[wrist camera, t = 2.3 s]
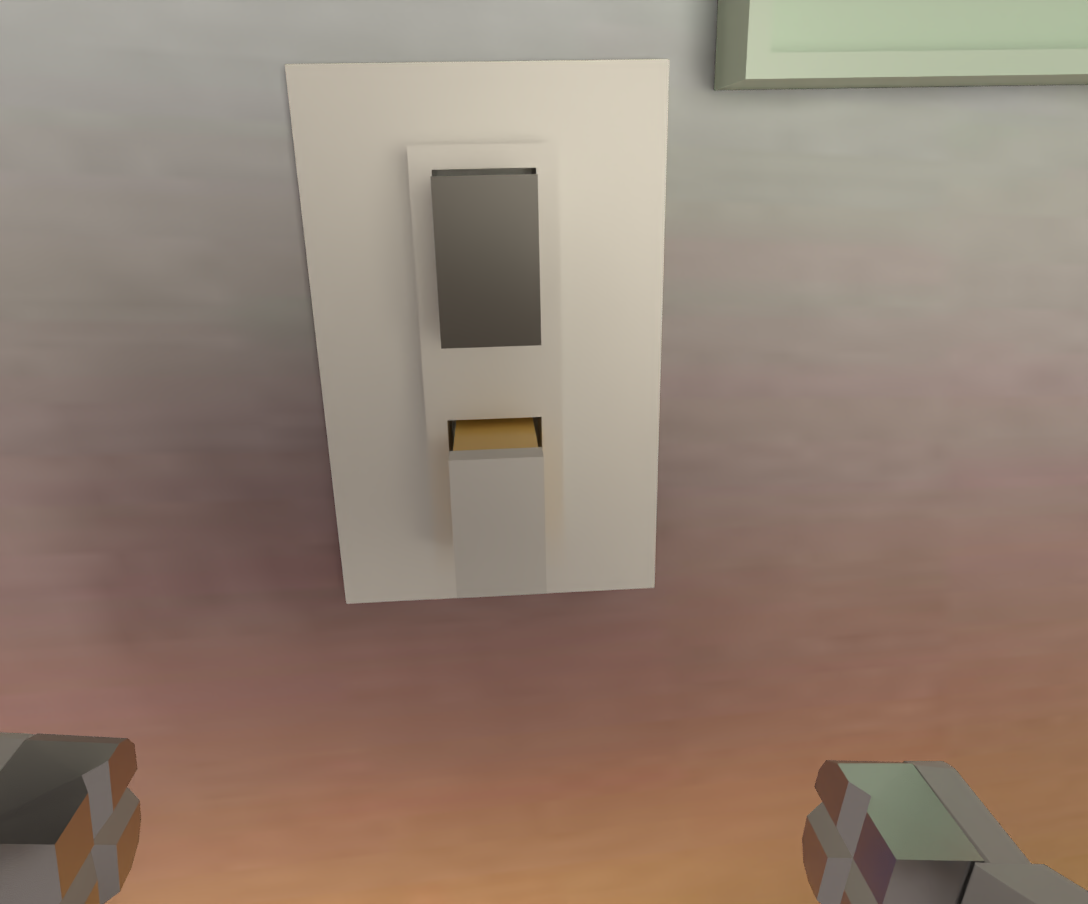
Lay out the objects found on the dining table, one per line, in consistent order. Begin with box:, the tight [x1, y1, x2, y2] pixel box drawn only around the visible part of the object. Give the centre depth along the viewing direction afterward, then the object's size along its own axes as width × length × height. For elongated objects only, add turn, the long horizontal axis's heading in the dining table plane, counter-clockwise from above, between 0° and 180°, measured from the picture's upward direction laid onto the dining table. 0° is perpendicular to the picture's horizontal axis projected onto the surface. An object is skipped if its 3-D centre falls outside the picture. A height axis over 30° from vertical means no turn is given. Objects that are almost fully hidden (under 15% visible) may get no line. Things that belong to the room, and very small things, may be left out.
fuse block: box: [285, 59, 669, 604], centre depth 32 cm, size 14×22×4 cm, turn 1°
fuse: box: [448, 417, 547, 598], centre depth 31 cm, size 3×5×7 cm, turn 1°
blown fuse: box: [430, 174, 541, 349], centre depth 28 cm, size 3×5×7 cm, turn 1°
